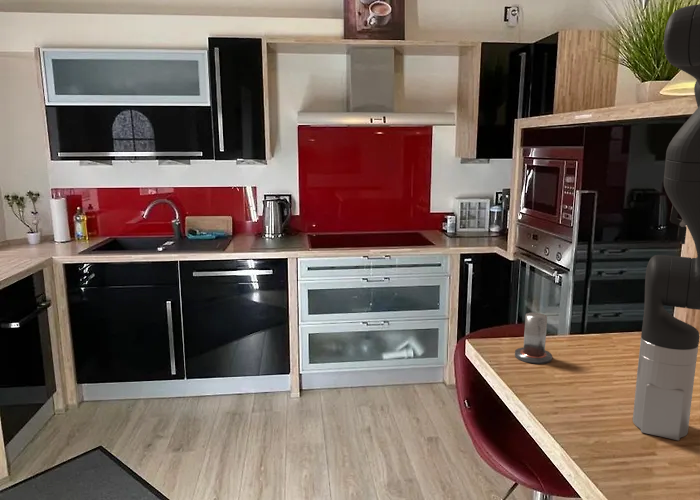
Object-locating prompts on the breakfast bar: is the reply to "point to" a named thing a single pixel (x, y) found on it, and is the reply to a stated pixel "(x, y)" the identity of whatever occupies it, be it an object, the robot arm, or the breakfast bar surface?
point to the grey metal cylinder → (535, 334)
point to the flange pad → (531, 359)
